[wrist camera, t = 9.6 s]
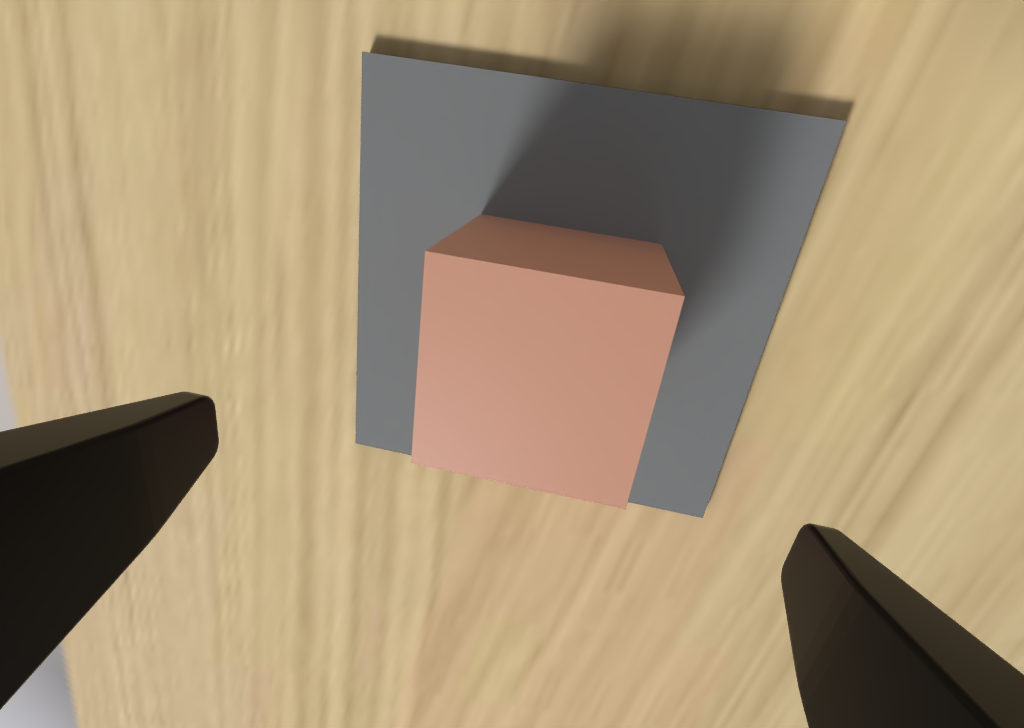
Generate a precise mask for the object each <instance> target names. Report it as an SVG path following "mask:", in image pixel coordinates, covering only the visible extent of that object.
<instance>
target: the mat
mask: <svg viewBox="0 0 1024 728" xmlns="http://www.w3.org/2000/svg"><path fill="white" fill-rule="evenodd" d="M845 124H846V121H844V120H837V119H830V118H823V117H816V116H809V115H802V114H795V113H788V112H781V111H774V110H767V109H760V108H753V107H746V106H739V105H732V104H725V103H718V102H711V101H704V100H697V99H690V98H683V97H676V96H669V95H662V94H655V93H648V92H641V91H634V90H627V89H620V88H613V87H606V86H599V85H592V84H585V83H578V82H571V81H564V80H557V79H550V78H543V77H536V76H529V75H522V74H515V73H508V72H501V71H494V70H487V69H480V68H473V67H466V66H459V65H452V64H445V63H438V62H431V61H424V60H417V59H410V58H403V57H396V56H389V55H382V54H375V53H368V52H362V99H361V158H360V217H359V276H358V336H357V395H356V443H357V444H362V445H366V446H371V447H375V448H380V449H385V450H389V451H394V452H399V453H403V454H408V455H412V442H413V426H414V411H415V396H416V381H417V366H418V350H419V335H420V320H421V305H422V290H423V274H424V259H425V251H426V250H427V249H429V248H430V247H432V246H433V245H435V244H436V243H438V242H439V241H441V240H442V239H444V238H445V237H447V236H449V235H450V234H452V233H453V232H455V231H456V230H458V229H459V228H461V227H462V226H464V225H465V224H467V223H468V222H470V221H471V220H473V219H474V218H476V217H477V216H479V215H480V214H483V215H489V216H495V217H501V218H507V219H513V220H519V221H525V222H531V223H537V224H544V225H550V226H556V227H562V228H568V229H574V230H580V231H586V232H592V233H598V234H604V235H610V236H616V237H622V238H628V239H634V240H640V241H646V242H652V243H658V244H662V246H663V248H664V251H665V253H666V255H667V257H668V260H669V262H670V264H671V266H672V269H673V271H674V273H675V275H676V278H677V280H678V282H679V284H680V287H681V289H682V291H683V293H684V295H685V298H684V301H683V305H682V309H681V312H680V316H679V319H678V323H677V326H676V330H675V334H674V337H673V341H672V344H671V348H670V352H669V355H668V359H667V362H666V366H665V369H664V373H663V377H662V380H661V384H660V387H659V391H658V394H657V398H656V402H655V405H654V409H653V412H652V416H651V420H650V423H649V427H648V430H647V434H646V437H645V441H644V445H643V448H642V452H641V455H640V459H639V463H638V466H637V470H636V473H635V477H634V480H633V484H632V488H631V491H630V495H629V498H628V502H631V503H636V504H640V505H645V506H649V507H654V508H659V509H663V510H668V511H673V512H677V513H682V514H687V515H691V516H696V517H701V518H703V516H704V513H705V510H706V507H707V505H708V502H709V499H710V496H711V494H712V491H713V488H714V485H715V483H716V480H717V477H718V474H719V472H720V469H721V466H722V463H723V460H724V458H725V455H726V452H727V449H728V447H729V444H730V441H731V438H732V436H733V433H734V430H735V427H736V425H737V422H738V419H739V416H740V414H741V411H742V408H743V405H744V402H745V400H746V397H747V394H748V391H749V389H750V386H751V383H752V380H753V378H754V375H755V372H756V369H757V367H758V364H759V361H760V358H761V356H762V353H763V350H764V347H765V345H766V342H767V339H768V336H769V333H770V331H771V328H772V325H773V322H774V320H775V317H776V314H777V311H778V309H779V306H780V303H781V300H782V298H783V295H784V292H785V289H786V287H787V284H788V281H789V278H790V276H791V273H792V270H793V267H794V264H795V262H796V259H797V256H798V253H799V251H800V248H801V245H802V242H803V240H804V237H805V234H806V231H807V229H808V226H809V223H810V220H811V218H812V215H813V212H814V209H815V206H816V204H817V201H818V198H819V195H820V193H821V190H822V187H823V184H824V182H825V179H826V176H827V173H828V171H829V168H830V165H831V162H832V160H833V157H834V154H835V151H836V149H837V146H838V143H839V140H840V137H841V135H842V132H843V129H844V126H845Z"/></svg>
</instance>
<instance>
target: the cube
mask: <svg viewBox="0 0 1024 728" xmlns="http://www.w3.org/2000/svg"><path fill="white" fill-rule="evenodd" d="M684 298H685V295H684V293H683V291H682V289H681V287H680V284H679V282H678V280H677V278H676V275H675V273H674V271H673V269H672V266H671V264H670V262H669V260H668V257H667V255H666V253H665V251H664V248H663V246H662V244H658V243H652V242H646V241H640V240H634V239H628V238H622V237H616V236H610V235H604V234H598V233H592V232H586V231H580V230H574V229H568V228H562V227H556V226H550V225H544V224H537V223H531V222H525V221H519V220H513V219H507V218H501V217H495V216H489V215H483V214H480V215H479V216H477V217H476V218H474V219H473V220H471V221H470V222H468V223H467V224H465V225H464V226H462V227H461V228H459V229H458V230H456V231H455V232H453V233H452V234H450V235H449V236H447V237H445V238H444V239H442V240H441V241H439V242H438V243H436V244H435V245H433V246H432V247H430V248H429V249H427V250H426V251H425V259H424V274H423V290H422V305H421V320H420V335H419V350H418V366H417V381H416V396H415V411H414V426H413V442H412V457H411V463H413V464H418V465H422V466H427V467H432V468H436V469H441V470H446V471H450V472H455V473H460V474H464V475H469V476H474V477H478V478H483V479H488V480H492V481H497V482H502V483H506V484H511V485H516V486H520V487H525V488H530V489H534V490H539V491H544V492H548V493H553V494H558V495H562V496H567V497H572V498H576V499H581V500H586V501H590V502H595V503H600V504H604V505H609V506H614V507H618V508H623V509H626V506H627V502H628V498H629V495H630V491H631V488H632V484H633V480H634V477H635V473H636V470H637V466H638V463H639V459H640V455H641V452H642V448H643V445H644V441H645V437H646V434H647V430H648V427H649V423H650V420H651V416H652V412H653V409H654V405H655V402H656V398H657V394H658V391H659V387H660V384H661V380H662V377H663V373H664V369H665V366H666V362H667V359H668V355H669V352H670V348H671V344H672V341H673V337H674V334H675V330H676V326H677V323H678V319H679V316H680V312H681V309H682V305H683V301H684Z"/></svg>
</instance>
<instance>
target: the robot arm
mask: <svg viewBox="0 0 1024 728" xmlns="http://www.w3.org/2000/svg"><path fill="white" fill-rule="evenodd" d="M218 444H219V438H218V429H217V420H216V410H215V404H214V402H213V400H212V399H211V398H210V397H208V396H205V395H200V394H195V393H191V392H179V393H174V394H170V395H165V396H161V397H156V398H152V399H147V400H143V401H138V402H134V403H129V404H125V405H120V406H115V407H111V408H106V409H102V410H97V411H93V412H88V413H84V414H79V415H75V416H70V417H66V418H61V419H57V420H52V421H47V422H43V423H38V424H34V425H29V426H25V427H20V428H16V429H11V430H7V431H2V432H0V709H1V708H2V707H3V706H4V705H5V704H6V703H7V702H8V701H9V699H10V698H11V697H12V696H13V695H14V694H15V693H16V692H17V690H18V689H19V688H20V687H21V686H22V685H23V684H24V683H25V682H26V680H27V679H28V678H29V677H30V676H31V675H32V673H34V671H35V670H36V669H37V668H38V667H39V666H40V665H41V663H42V662H43V661H44V660H45V659H46V658H47V657H48V656H49V655H50V653H51V652H52V651H53V650H54V649H55V648H56V647H57V646H58V645H59V643H60V642H61V641H62V640H63V639H64V638H65V637H66V636H67V635H68V633H69V632H70V631H71V630H72V629H73V628H74V627H75V626H76V624H77V623H78V622H79V621H80V620H81V619H82V618H83V617H84V616H85V614H86V613H87V612H88V611H89V610H90V609H91V608H92V607H93V605H94V604H95V603H96V602H97V601H98V600H99V599H100V598H101V597H102V595H103V594H104V593H105V592H106V591H107V590H108V589H109V588H110V586H111V585H112V584H113V583H114V582H115V581H116V580H117V579H118V578H119V576H120V575H121V574H122V573H123V572H124V571H125V570H126V569H127V567H128V566H129V565H130V564H131V563H132V562H133V561H134V560H135V559H136V557H137V556H138V555H139V554H140V553H141V552H142V551H143V550H144V548H145V547H146V546H147V545H148V544H149V543H150V541H151V540H152V539H153V538H154V537H155V536H156V534H157V533H158V532H159V530H160V529H161V528H162V527H163V525H164V524H165V523H166V521H167V520H168V519H169V517H170V516H171V515H172V513H173V512H174V511H175V509H176V508H177V506H178V505H179V504H180V502H181V501H182V500H183V498H184V497H185V496H186V494H187V493H188V492H189V490H190V489H191V487H192V486H193V485H194V483H195V482H196V481H197V479H198V478H199V477H200V475H201V474H202V473H203V471H204V470H205V468H206V467H207V466H208V464H209V463H210V462H211V460H212V459H213V457H214V456H215V454H216V452H217V449H218ZM781 583H782V590H783V596H784V602H785V609H786V615H787V621H788V627H789V634H790V640H791V646H792V652H793V659H794V665H795V671H796V676H797V681H798V687H799V691H800V695H801V699H802V703H803V707H804V711H805V715H806V719H807V722H808V726H809V728H1024V675H1023V674H1022V673H1021V672H1019V671H1018V670H1017V669H1016V668H1014V667H1013V666H1012V665H1011V664H1009V663H1008V662H1007V661H1005V660H1004V659H1003V658H1002V657H1000V656H999V655H998V654H996V653H995V652H994V651H993V650H991V649H990V648H989V647H988V646H986V645H985V644H984V643H982V642H981V641H980V640H979V639H977V638H976V637H975V636H973V635H972V634H971V633H970V632H968V631H967V630H966V629H964V628H963V627H962V626H961V625H959V624H958V623H957V622H956V621H954V620H953V619H952V618H950V617H949V616H948V615H947V614H945V613H944V612H943V611H941V610H940V609H939V608H938V607H936V606H935V605H934V604H932V603H931V602H930V601H929V600H927V599H926V598H925V597H924V596H922V595H921V594H920V593H918V592H917V591H916V590H915V589H913V588H912V587H911V586H909V585H908V584H907V583H906V582H904V581H903V580H902V579H900V578H899V577H898V576H897V575H895V574H894V573H893V572H892V571H890V570H889V569H888V568H886V567H885V566H884V565H883V564H881V563H880V562H879V561H877V560H876V559H875V558H874V557H872V556H871V555H870V554H868V553H867V552H866V551H865V550H863V549H862V548H861V547H860V546H858V545H857V544H856V543H854V542H853V541H852V540H851V539H849V538H848V537H847V536H845V535H844V534H843V533H842V532H840V531H839V530H837V529H834V528H830V527H825V526H820V525H815V524H806V525H804V526H803V527H802V528H801V529H800V531H799V532H798V535H797V537H796V539H795V541H794V543H793V545H792V547H791V550H790V552H789V554H788V556H787V558H786V560H785V562H784V565H783V568H782V574H781Z"/></svg>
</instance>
